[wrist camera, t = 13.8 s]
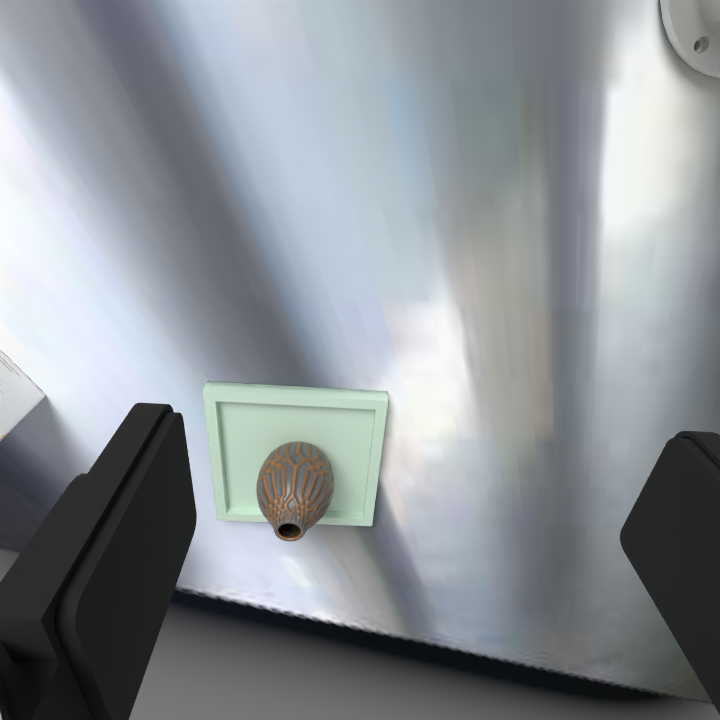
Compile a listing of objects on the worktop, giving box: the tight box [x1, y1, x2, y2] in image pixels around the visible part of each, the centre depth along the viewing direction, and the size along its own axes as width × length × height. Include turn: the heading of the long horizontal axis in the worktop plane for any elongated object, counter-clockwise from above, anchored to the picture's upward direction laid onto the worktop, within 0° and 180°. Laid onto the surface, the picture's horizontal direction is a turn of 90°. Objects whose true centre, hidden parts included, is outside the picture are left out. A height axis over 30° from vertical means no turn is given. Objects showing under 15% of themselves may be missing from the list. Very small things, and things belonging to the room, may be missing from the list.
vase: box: [256, 441, 334, 541], centre depth 42 cm, size 7×7×9 cm
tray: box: [203, 382, 388, 526], centre depth 45 cm, size 16×16×2 cm
